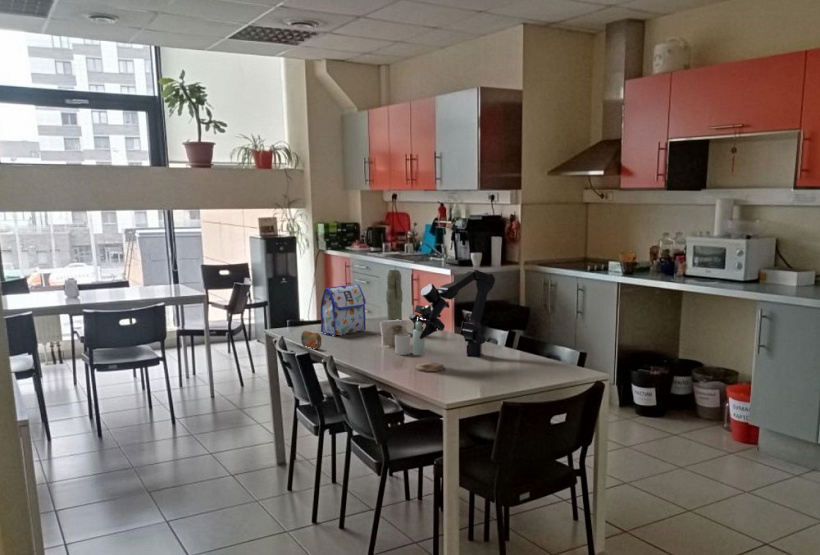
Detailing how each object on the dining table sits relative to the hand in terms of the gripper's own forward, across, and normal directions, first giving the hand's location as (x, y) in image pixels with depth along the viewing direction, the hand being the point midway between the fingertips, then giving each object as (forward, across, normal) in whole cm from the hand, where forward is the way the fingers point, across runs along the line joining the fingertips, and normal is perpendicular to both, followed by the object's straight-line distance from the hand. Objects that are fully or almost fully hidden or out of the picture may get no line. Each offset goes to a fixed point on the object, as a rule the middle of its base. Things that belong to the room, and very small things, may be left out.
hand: (416, 337), depth 282 cm
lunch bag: (-3, -88, +23) cm, 91 cm away
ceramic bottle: (+4, 0, +6) cm, 8 cm away
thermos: (-18, -68, +38) cm, 80 cm away
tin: (+20, -66, -1) cm, 69 cm away
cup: (+1, -27, +18) cm, 33 cm away
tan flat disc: (+7, +5, +12) cm, 15 cm away
